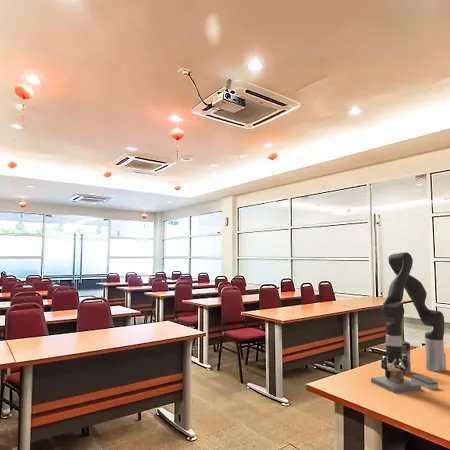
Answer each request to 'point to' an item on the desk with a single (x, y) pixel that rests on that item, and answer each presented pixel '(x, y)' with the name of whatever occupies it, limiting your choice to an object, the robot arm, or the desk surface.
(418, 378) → the felt board eraser
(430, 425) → the desk surface
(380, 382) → the slate platform
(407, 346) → the coffee box
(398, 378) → the walnut cube
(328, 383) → the desk surface
